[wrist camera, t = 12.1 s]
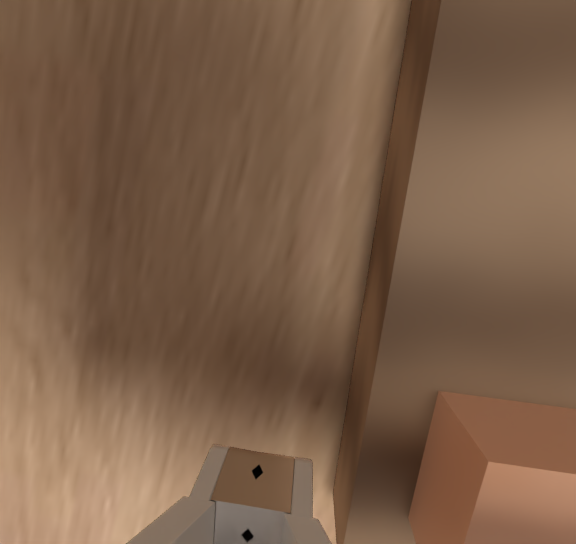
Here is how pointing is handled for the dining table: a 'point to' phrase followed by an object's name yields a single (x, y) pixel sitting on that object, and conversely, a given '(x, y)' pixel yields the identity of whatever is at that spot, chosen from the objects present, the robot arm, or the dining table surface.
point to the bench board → (464, 244)
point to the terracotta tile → (496, 473)
